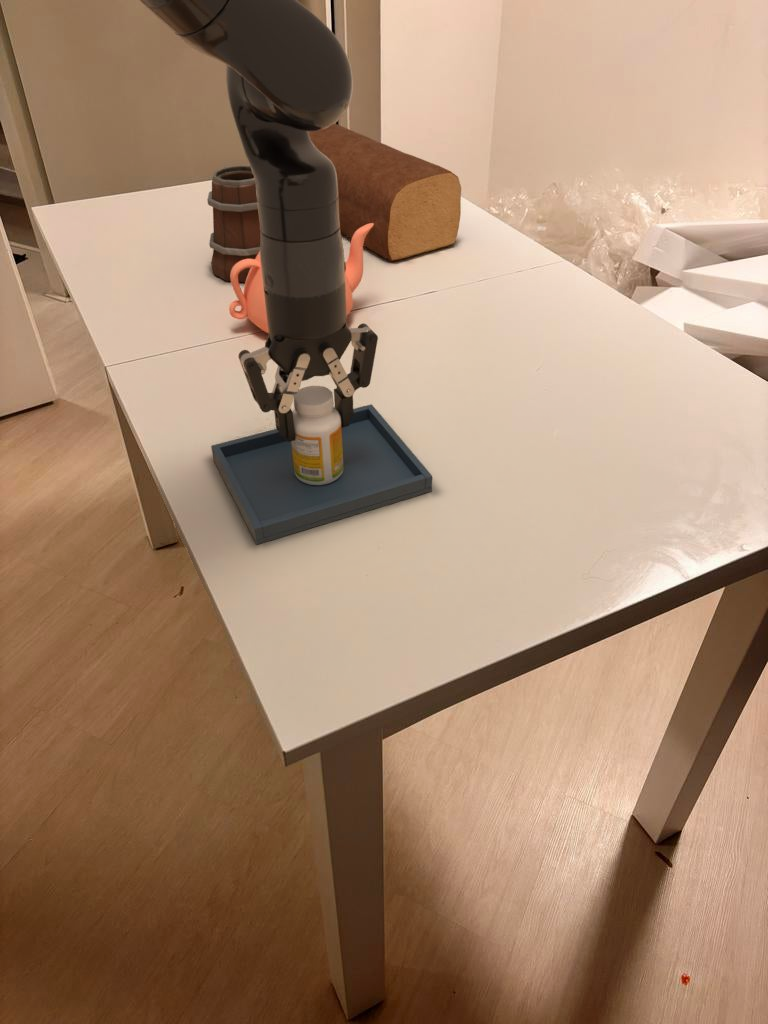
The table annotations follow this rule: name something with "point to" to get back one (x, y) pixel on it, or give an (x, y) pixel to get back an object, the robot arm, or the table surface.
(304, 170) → the robot arm
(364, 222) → the bread
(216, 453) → the tray
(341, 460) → the supplement bottle
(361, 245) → the teapot
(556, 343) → the table surface
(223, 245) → the mug
